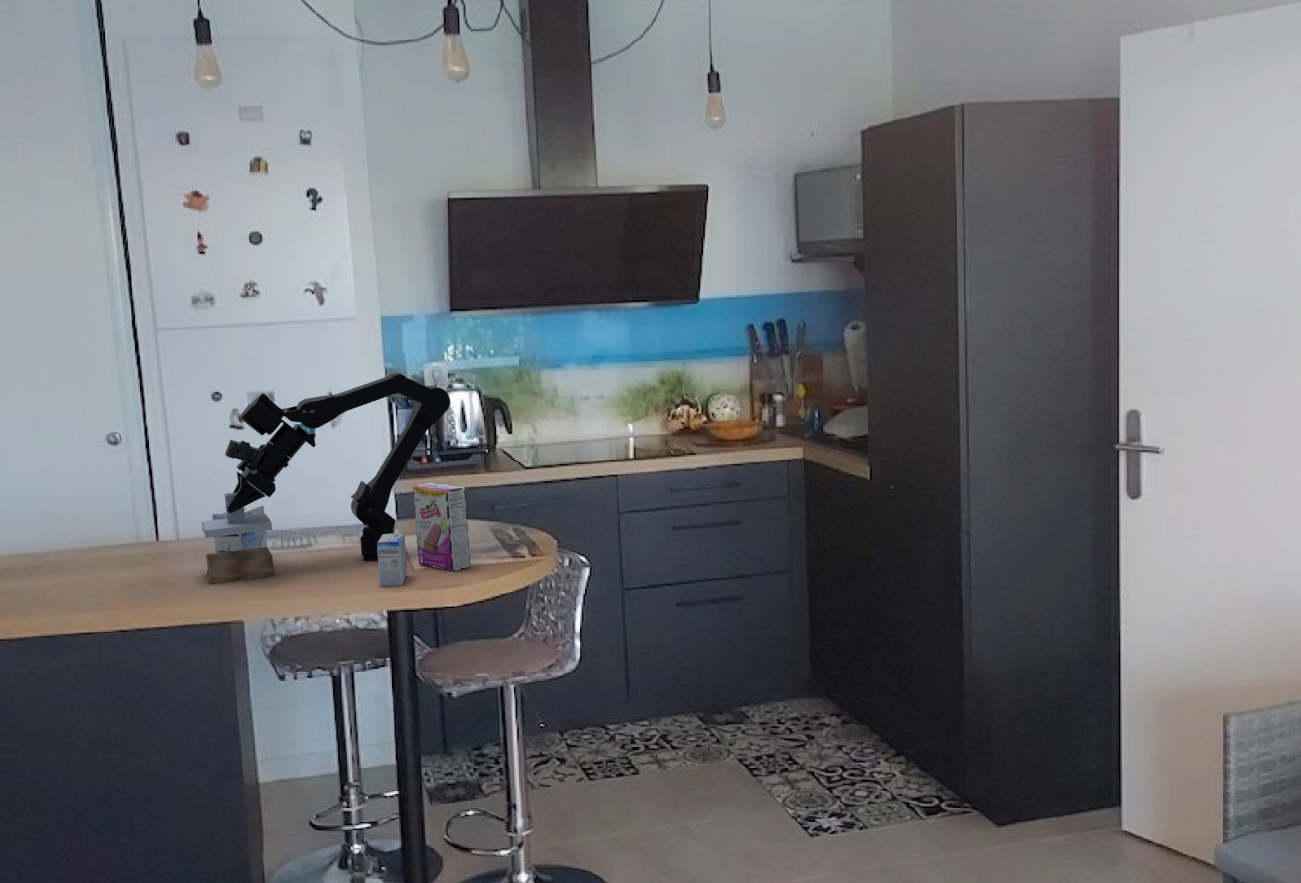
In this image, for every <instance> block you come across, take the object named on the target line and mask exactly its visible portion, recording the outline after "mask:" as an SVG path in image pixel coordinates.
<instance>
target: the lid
mask: <svg viewBox="0 0 1301 883" xmlns="http://www.w3.org/2000/svg"><path fill="white" fill-rule="evenodd" d="M235 495H236V493H233V492H231V493H230V492H229V493H224V499H225V500H224V502H225V509H226V513H227V519H219V520H213V519H211V520H204V521H201V527H202V528H201V529H202V532H203V534H204V537H205V538H206V539H207V538H214V537H218V536H226V535H234V534H243V533H251V532H260V531H266V532H268V531H273V524H272V521H271V519H270V518H269V516H268V515H267V513H264V514H263V515H254V516H245V513H244V507H242V508H241V509H239V510H237V511H235V512H233V513H229V512H228V511H227V508H228V507H229V505H230V503H231V502H232V500H233V498H234V497H235Z"/></svg>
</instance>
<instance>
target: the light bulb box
mask: <svg viewBox="0 0 1301 883" xmlns="http://www.w3.org/2000/svg"><path fill="white" fill-rule="evenodd" d="M244 513H245V516H254V515H263V514H265V506H264V505H263V504H259V505H258V504H257V505H256V504H248V505H246V506H244ZM211 517H212V519H211V520H219V519H227V513H226V508H225V509H223V510H220V511H217V512H214V513H212V514H211ZM213 538H214V539H213V540H214V549H215V553H221V552H229V551H238V550H246V549H254V548H263V547H268V540H267V539H268V538H267V531H260V532H251V533H243V534H234V535H226V536H218V537H213Z"/></svg>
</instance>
